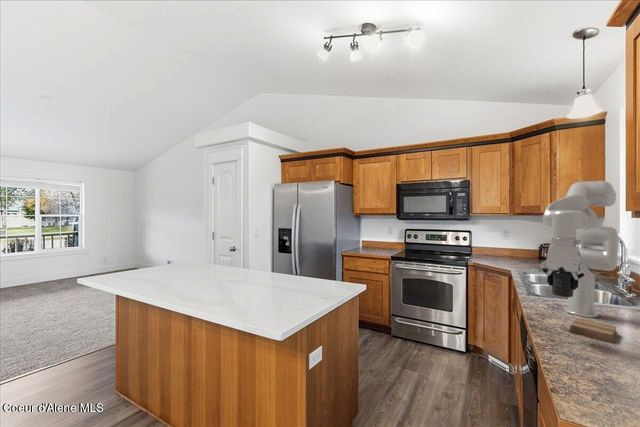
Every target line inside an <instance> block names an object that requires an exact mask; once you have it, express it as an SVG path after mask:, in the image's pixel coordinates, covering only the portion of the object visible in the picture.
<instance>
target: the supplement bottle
mask: <svg viewBox="0 0 640 427" xmlns="http://www.w3.org/2000/svg"><path fill="white" fill-rule="evenodd" d="M573 279H574V277H573V275H572V273H571V272H566V270H565V269H563V266H562V267H561V268H560V267H559V269H558V270H554V271H553V272H552V286H551V293H552V295H554V296H557V297H563V298H568V297H573V293H574V290H573V289H572V280H573Z"/></svg>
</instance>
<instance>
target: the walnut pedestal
mask: <svg viewBox="0 0 640 427" xmlns="http://www.w3.org/2000/svg"><path fill="white" fill-rule="evenodd" d="M616 328H617V327H616V326H612V325H610V324H605V323H604V324H603V323H599V322H595V321H591V320H588V319H587V320H586V319H583V318H578V317H577V318H576V319H575V320H574V321H573V322H572V323H571V324H570V328H569V329H568V333H569V334H575V335H578V336H582V337H587V338H590V339H593V340H598V341H602V342H606V343H609V344H614V343H615V340H616V338H617V336H618V331H616Z"/></svg>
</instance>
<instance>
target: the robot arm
mask: <svg viewBox="0 0 640 427" xmlns="http://www.w3.org/2000/svg"><path fill="white" fill-rule="evenodd" d="M616 199H617V193H616V191H615V188H614V186H613V185H612V184H611V183H610V182H609V181H605V180H593V181H592V180H591V181H587V180H586V181H578V182H575V183H573V184H571V186H569V189H568V191H567V193H566V195H565V196H564V197H562V198H559V199H557V200H554V201H553V202H550V203H549V204H548V205H547V206H546V208H545V211H544V213H543V215H542V223H543V225H544V226H545V227H546V228H550V229H551V244H549V245H548V246H549V247H548V248H547V249H548V250H547V255H546V259H545V260H543V261H541V262H540V263H539V264H538V267H539V268H540V269H541V270H542V271H543V273H545V275H546V276H547V279H546V280H547V281H546V282H547V284H548V286H549V287H552V272H553V271H555V270H558V269H559V267H560V268H561V267H562V266H563V269H565V270H566V272H571V273H572V275H573V277H574V279H573V280H572V289H573V290H574V293H573V297H567V298H568V299H567V306H564V307H563V310H564V311H565V312H566V313H568V314H570V315H575V316H579V317H584V318H598V317H599V312H597V311H595V291H596V290H595V287H596V278H595V276H594V274H593V273H592V272H591V271H590V270H591V269H592V270H597V271H607V272H611V271H614V270H615V269H616V268H617V265H618V251H619V234H618V231H617V229H616V228H613V227H612V226H601V225H599V226H598V215H597V214H596V213H595V211H593V209H592V208H591V207H598V208H599V207H606V208H607V207H612V206H613V205H614V204H616ZM577 245H581V246H589V247H592V248H589V247H579V246H577ZM593 247H601V248H603V249H599V248H593ZM545 265H546V266H545Z"/></svg>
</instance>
